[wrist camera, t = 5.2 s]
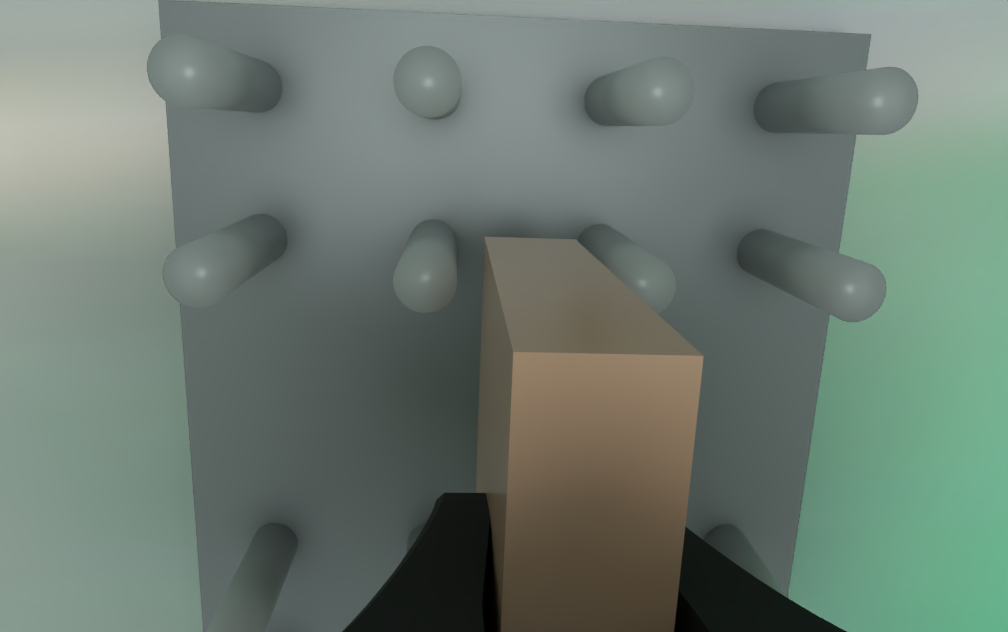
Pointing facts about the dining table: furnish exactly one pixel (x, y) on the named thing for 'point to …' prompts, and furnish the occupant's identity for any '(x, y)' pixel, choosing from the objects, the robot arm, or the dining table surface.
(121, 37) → the dining table surface
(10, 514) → the dining table surface
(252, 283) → the dish rack
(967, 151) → the dining table surface
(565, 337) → the tall tan block
